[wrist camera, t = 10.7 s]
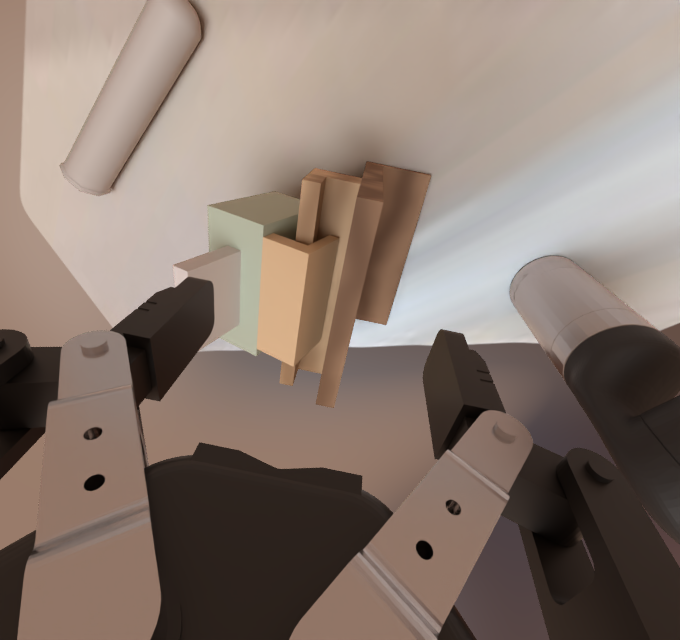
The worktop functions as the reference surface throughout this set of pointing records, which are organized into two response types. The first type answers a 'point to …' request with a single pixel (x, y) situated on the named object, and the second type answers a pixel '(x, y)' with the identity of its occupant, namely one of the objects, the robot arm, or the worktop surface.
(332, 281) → the wall board
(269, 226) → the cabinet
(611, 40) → the worktop surface
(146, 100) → the tube
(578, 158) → the worktop surface
